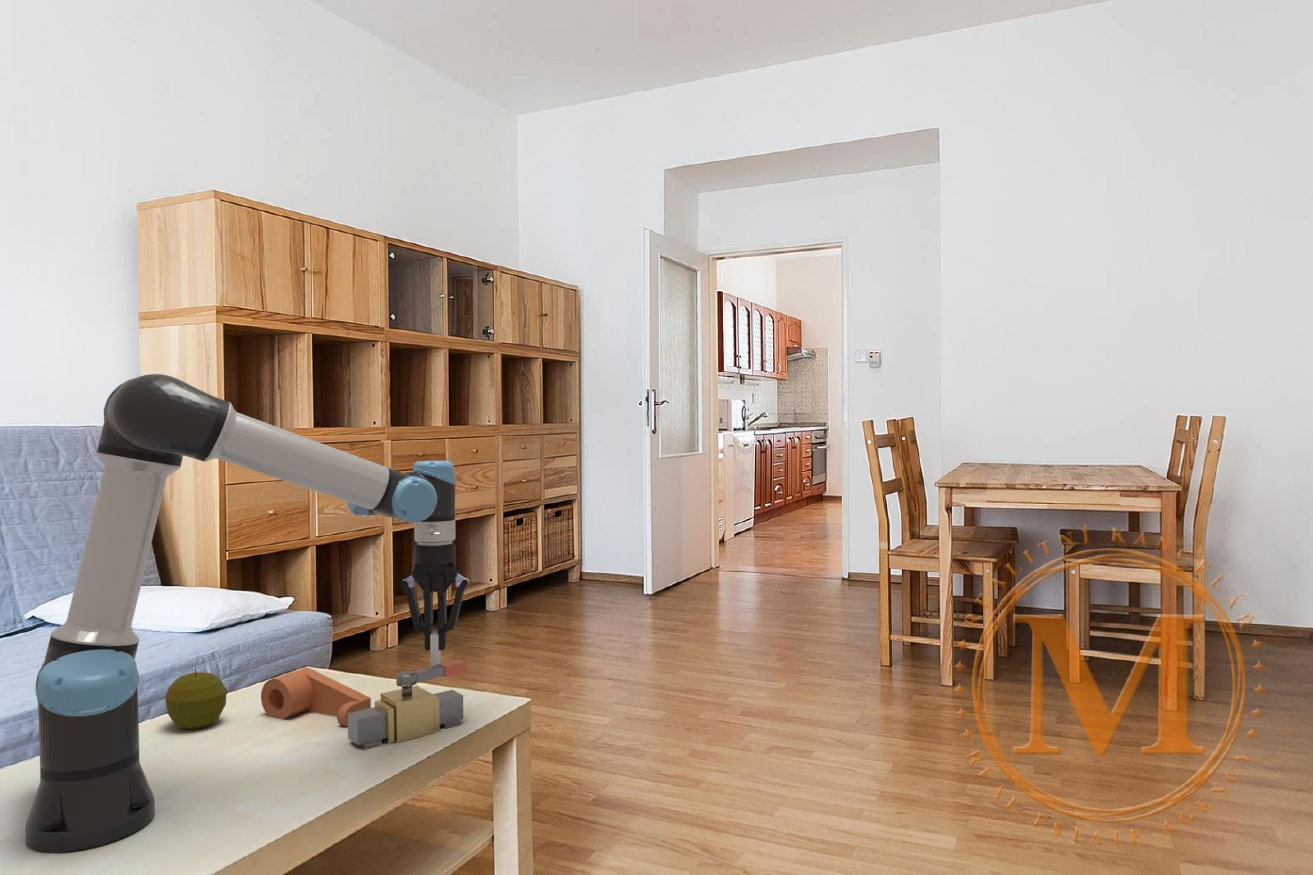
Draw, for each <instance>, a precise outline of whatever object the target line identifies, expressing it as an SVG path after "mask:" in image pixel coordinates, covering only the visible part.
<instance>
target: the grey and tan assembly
mask: <svg viewBox="0 0 1313 875" xmlns="http://www.w3.org/2000/svg"><path fill="white" fill-rule="evenodd" d="M464 716H465V715H464V695H463V694H462V693H460V692H457V691H455V690H454V689H449V690H445V691H441V692H436V693H432V692H430V691H428V690H426V689H424V688H422V687H420V686H419V685H413V686H407V687H401V689H396V690H391V691H387V692H381V693H380V699H378V700H374V707H371V708H369V709H364V710H360V711H356V712H351V713H348V726H347V739H349V740H350V741H351V742H352V743H354V744H355V745H357V746H360V747H361V749H362V748H363V749H364V750H369V749H372V748H375V747H379V746H382V742H383V741H384V742H386V743H387V744H393V743H401V742H404V741H410V740H412V739H416V738H421V737H425V736H428V735H432V734H435V733H437V732H439V731H440V728H444V729H445V730H446V729H450V728H453V727H458V726H461V720H463V719H464ZM382 740H383V741H382Z"/></svg>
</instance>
